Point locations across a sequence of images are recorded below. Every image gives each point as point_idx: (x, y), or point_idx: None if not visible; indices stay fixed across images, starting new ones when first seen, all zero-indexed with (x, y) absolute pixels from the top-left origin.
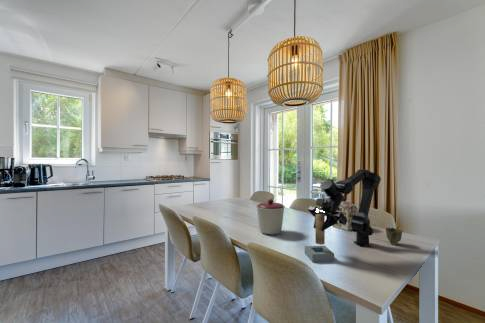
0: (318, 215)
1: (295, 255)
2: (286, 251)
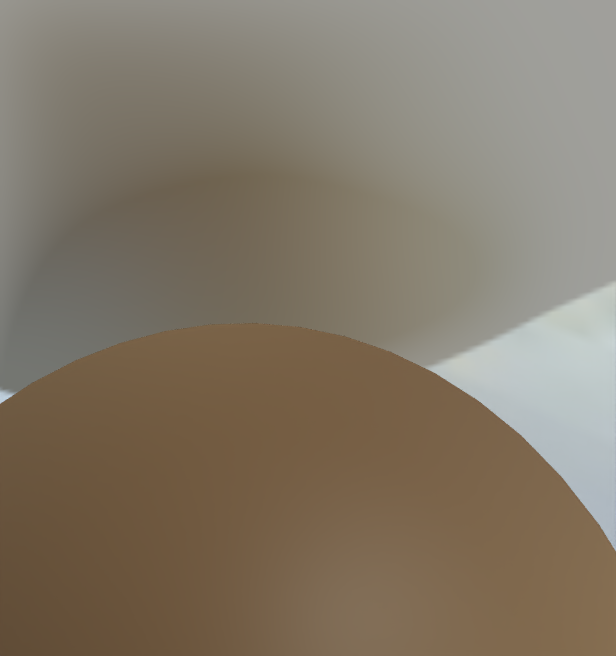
0: (79, 446)
1: (475, 377)
2: (605, 331)
